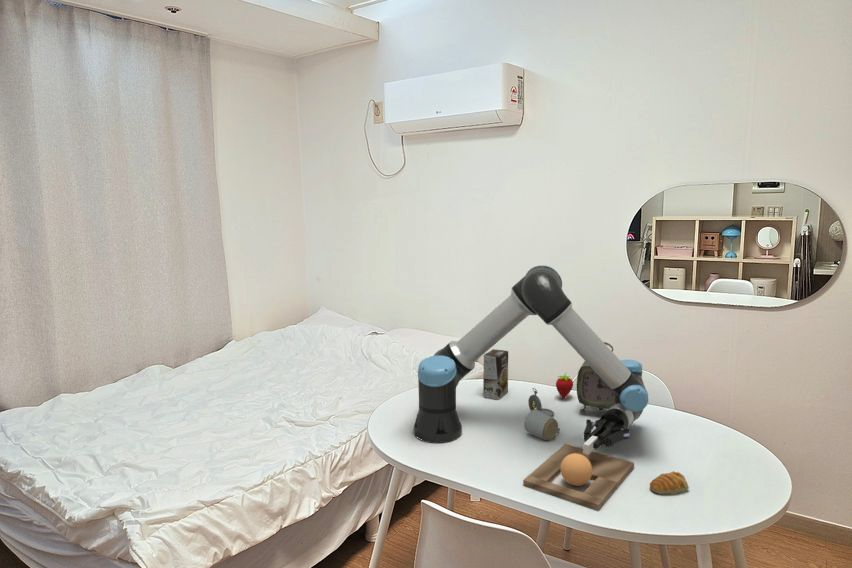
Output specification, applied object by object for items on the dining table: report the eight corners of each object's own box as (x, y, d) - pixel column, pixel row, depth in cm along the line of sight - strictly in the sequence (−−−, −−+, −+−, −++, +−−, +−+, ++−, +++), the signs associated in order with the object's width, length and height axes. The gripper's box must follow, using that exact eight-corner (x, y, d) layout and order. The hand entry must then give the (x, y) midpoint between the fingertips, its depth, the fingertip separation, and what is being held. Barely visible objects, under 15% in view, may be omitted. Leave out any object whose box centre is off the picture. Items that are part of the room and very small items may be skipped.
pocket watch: (556, 413, 196) (557, 385, 194) (547, 422, 189) (548, 393, 187) (533, 408, 201) (534, 381, 199) (524, 417, 194) (524, 388, 192)
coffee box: (498, 400, 209) (499, 357, 206) (482, 397, 212) (482, 354, 209) (508, 392, 217) (509, 350, 214) (492, 389, 220) (493, 348, 217)
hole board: (523, 485, 150) (523, 480, 150) (565, 448, 171) (565, 443, 170) (598, 510, 138) (598, 504, 138) (633, 467, 159) (634, 462, 158)
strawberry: (575, 396, 211) (576, 370, 209) (568, 403, 205) (569, 376, 203) (560, 393, 214) (560, 367, 213) (552, 400, 208) (553, 373, 207)
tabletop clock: (575, 414, 195) (577, 342, 191) (580, 405, 203) (582, 336, 199) (620, 421, 189) (624, 347, 184) (623, 411, 197) (627, 340, 193)
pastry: (662, 500, 143) (663, 485, 142) (642, 487, 149) (643, 473, 148) (690, 491, 146) (691, 477, 146) (670, 479, 153) (670, 466, 152)
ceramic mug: (543, 444, 173) (544, 420, 172) (523, 435, 180) (524, 411, 178) (566, 435, 180) (567, 411, 179) (545, 426, 186) (546, 404, 185)
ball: (567, 447, 156) (565, 477, 156) (557, 453, 149) (554, 484, 149) (597, 454, 151) (594, 484, 151) (588, 460, 145) (585, 492, 144)
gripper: (637, 437, 170) (609, 469, 152) (594, 426, 178) (562, 456, 159) (639, 413, 169) (610, 442, 150) (595, 403, 176) (563, 430, 158)
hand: (585, 449), depth 155 cm, fingers closed
